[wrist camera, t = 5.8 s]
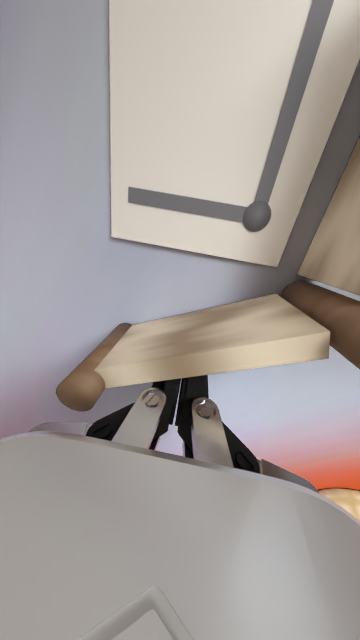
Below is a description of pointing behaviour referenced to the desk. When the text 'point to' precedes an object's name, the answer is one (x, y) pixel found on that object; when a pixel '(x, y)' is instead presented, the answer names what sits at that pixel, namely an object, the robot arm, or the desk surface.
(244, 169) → the card
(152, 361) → the fence panel
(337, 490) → the hand bell
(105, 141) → the desk surface
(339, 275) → the fence fixed
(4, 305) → the desk surface
